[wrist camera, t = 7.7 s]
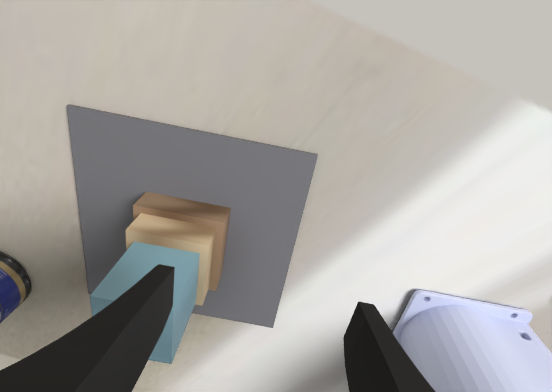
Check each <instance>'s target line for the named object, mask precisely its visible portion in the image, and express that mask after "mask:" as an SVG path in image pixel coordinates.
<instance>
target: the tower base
mask: <svg viewBox="0 0 552 392" xmlns="http://www.w3.org/2000/svg"><path fill="white" fill-rule="evenodd" d="M230 212H231V208H229V207H223V206H218V205H213V204H208V203H203V202H198V201H192V200H187V199H182V198H177V197H172V196H167V195H162V194H156V193H151V192H146V193H145V194H144V195H143V196H142V197H141V198H140V199H139V200H138V201H137V202H136V203H135V204H134V205H133V221H134V220H135V219H136V218H137V217H138V216H139V215H140V213H143V214H148V215H153V216H158V217H163V218H169V219H174V220H179V221H184V222H189V223H195V224H200V225H205V226H210V227H215V228H217V229H216V238H215V246H214V255H213V263H212V271H211V280H210V286H209V289H208V290H212V291H216V290H217V287H218V284H219V281H220V278H221V275H222V269H223V262H224V255H225V248H226V240H227V233H228V226H229V219H230Z"/></svg>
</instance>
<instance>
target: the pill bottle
mask: <svg viewBox="0 0 552 392" xmlns="http://www.w3.org/2000/svg"><path fill="white" fill-rule="evenodd" d="M30 289H31V283H30V280H29V277H28V276H27V274H26V272H25V270H24V269H23V267H22V266H21V265H20V264H19V263H18V262H17V261H15V260H14V259H13V258H12V257H10V256H7V255H5V254H4V253H2V252H0V323H1V322H2V321H3V320H4V319H5V318H6V317H7V316H8V315H9V314H10V313H12V312H13V311H14V310H15V309H16V308H17V307H18V306H19V305H20V304H21V303H22V302H23V301H24V300H25V299H26V298H27V297H28V295H29V293H30Z"/></svg>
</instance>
